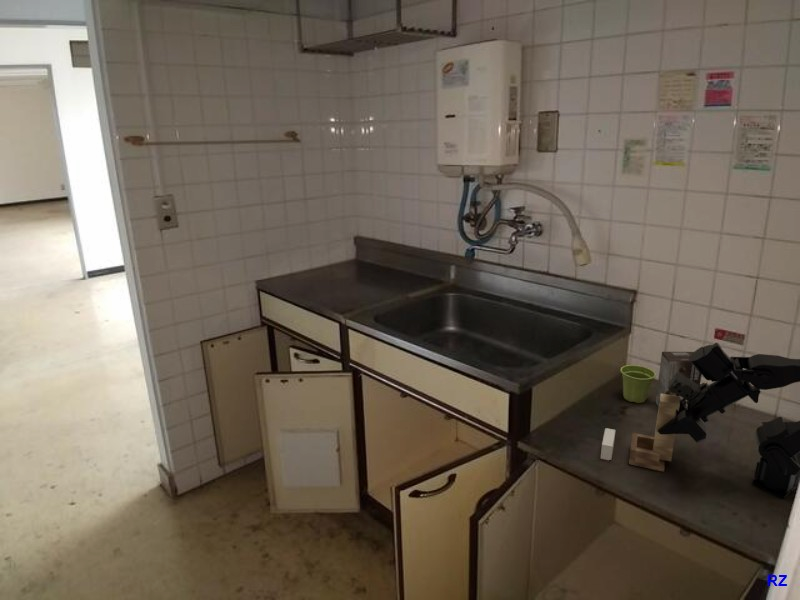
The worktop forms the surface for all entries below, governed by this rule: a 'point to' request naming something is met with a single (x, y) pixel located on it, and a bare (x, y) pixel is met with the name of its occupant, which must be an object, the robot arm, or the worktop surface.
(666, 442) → the oak peg
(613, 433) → the white rectangular block
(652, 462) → the walnut cradle
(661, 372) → the coffee box
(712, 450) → the worktop surface
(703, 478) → the worktop surface
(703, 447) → the worktop surface
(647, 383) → the plant pot
